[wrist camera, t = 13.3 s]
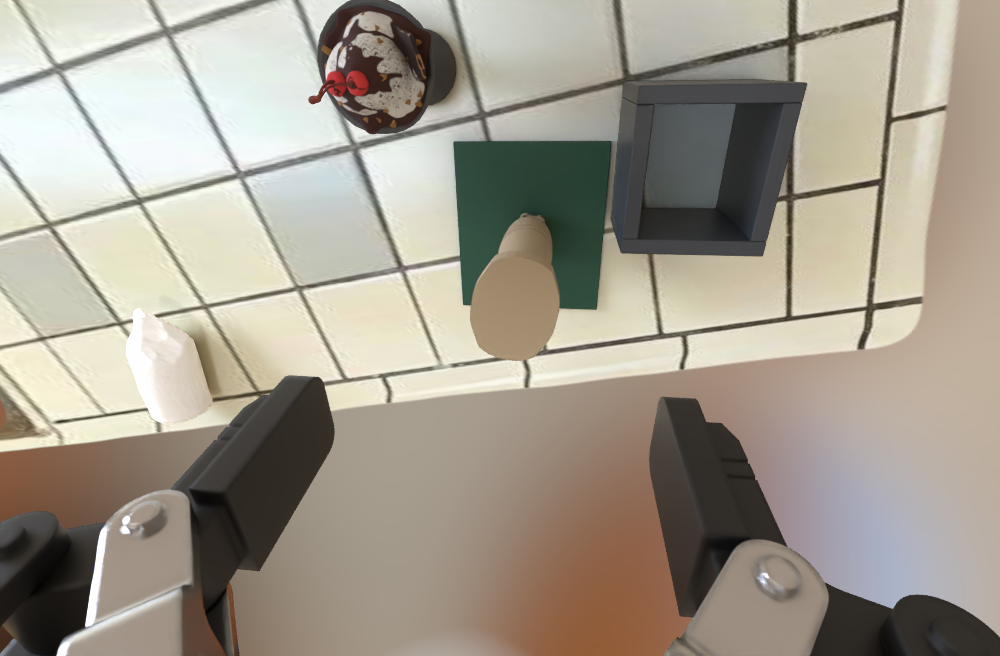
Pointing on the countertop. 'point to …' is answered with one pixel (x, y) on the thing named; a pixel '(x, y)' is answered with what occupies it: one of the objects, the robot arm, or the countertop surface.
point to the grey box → (746, 176)
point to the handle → (517, 293)
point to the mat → (534, 207)
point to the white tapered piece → (167, 369)
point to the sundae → (382, 66)
